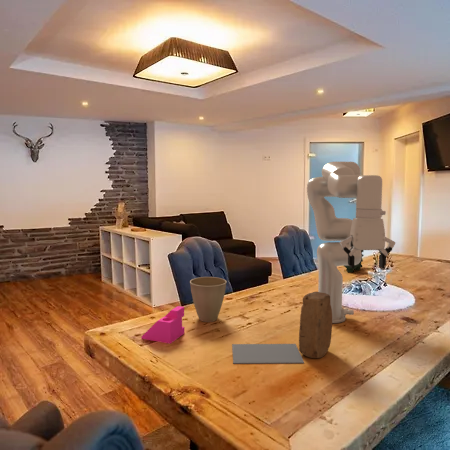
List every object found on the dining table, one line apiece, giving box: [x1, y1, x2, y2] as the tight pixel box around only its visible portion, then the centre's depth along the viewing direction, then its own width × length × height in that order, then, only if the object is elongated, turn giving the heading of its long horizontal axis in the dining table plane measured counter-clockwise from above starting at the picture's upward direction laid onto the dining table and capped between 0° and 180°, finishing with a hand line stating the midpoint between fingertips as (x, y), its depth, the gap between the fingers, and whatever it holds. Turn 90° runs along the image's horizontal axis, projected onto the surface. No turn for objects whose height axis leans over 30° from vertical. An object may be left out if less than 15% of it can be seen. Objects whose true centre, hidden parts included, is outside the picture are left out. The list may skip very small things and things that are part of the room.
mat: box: [231, 343, 305, 365], centre depth 127 cm, size 22×14×1 cm, turn 91°
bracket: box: [141, 305, 185, 344], centre depth 142 cm, size 12×10×10 cm
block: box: [298, 291, 333, 359], centre depth 126 cm, size 11×8×20 cm
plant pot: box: [189, 276, 227, 323], centre depth 159 cm, size 15×15×16 cm
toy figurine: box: [343, 250, 365, 274], centre depth 246 cm, size 9×19×25 cm
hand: (366, 267), depth 125 cm, fingers open, 9 cm apart
